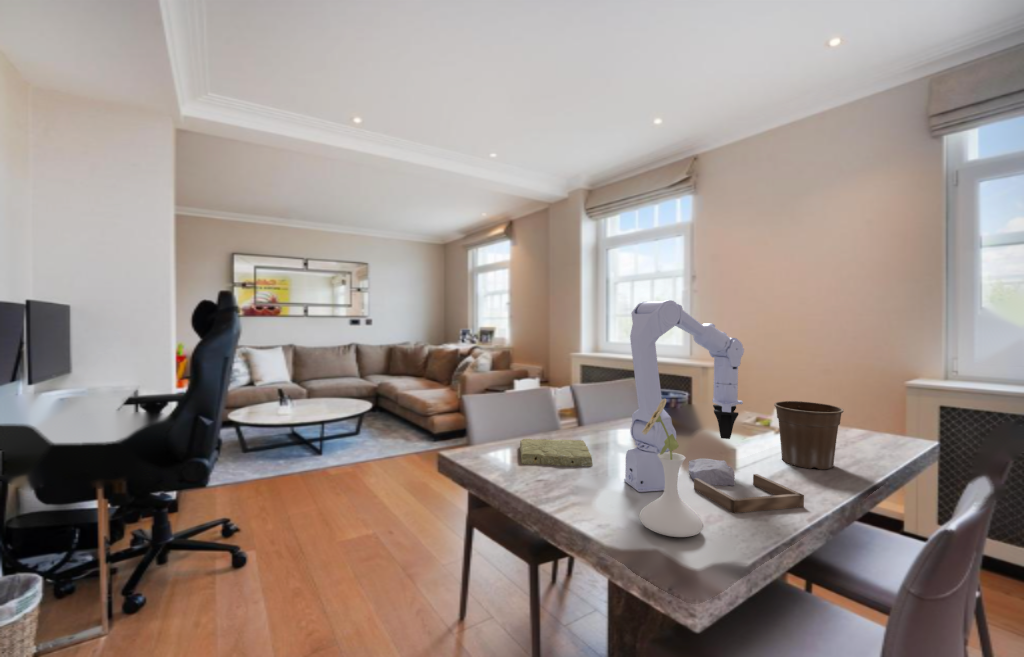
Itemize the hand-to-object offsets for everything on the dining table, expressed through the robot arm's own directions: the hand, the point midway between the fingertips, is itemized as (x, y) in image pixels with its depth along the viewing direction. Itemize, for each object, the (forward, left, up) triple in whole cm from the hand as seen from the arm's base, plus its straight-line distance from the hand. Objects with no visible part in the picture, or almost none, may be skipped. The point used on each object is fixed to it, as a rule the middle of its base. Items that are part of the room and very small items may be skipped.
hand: (724, 435), depth 117 cm
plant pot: (+28, +3, -10) cm, 30 cm away
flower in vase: (-33, -27, -10) cm, 44 cm away
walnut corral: (-7, -16, -10) cm, 20 cm away
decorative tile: (-40, +22, -11) cm, 46 cm away
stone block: (-6, -2, -10) cm, 12 cm away
